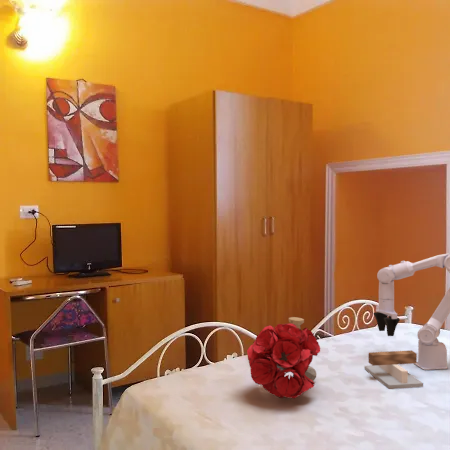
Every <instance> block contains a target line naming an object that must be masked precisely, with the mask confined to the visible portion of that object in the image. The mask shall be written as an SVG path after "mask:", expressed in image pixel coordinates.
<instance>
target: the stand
mask: <svg viewBox="0 0 450 450" xmlns="http://www.w3.org/2000/svg"><path fill="white" fill-rule="evenodd" d="M364 370H365V371H366V372H368V373H369V374H370V375H372V377H374V378H375V379H376V380H377V381H378V382H380V383H381V384H382V385H383V386H385V387H386V388H387V389H389V390H392V389H393V390H394V389H408V388H410V389H411V388H424V382H422V381H421V380H419V379H418V378H416V377H415V376H414V375H412V374H410V373H409V372H408V370H406V369H405V368H404V367H402V366H401V365H400V364H393V365H375V366H373V365H371V364H370V365H364Z"/></svg>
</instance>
